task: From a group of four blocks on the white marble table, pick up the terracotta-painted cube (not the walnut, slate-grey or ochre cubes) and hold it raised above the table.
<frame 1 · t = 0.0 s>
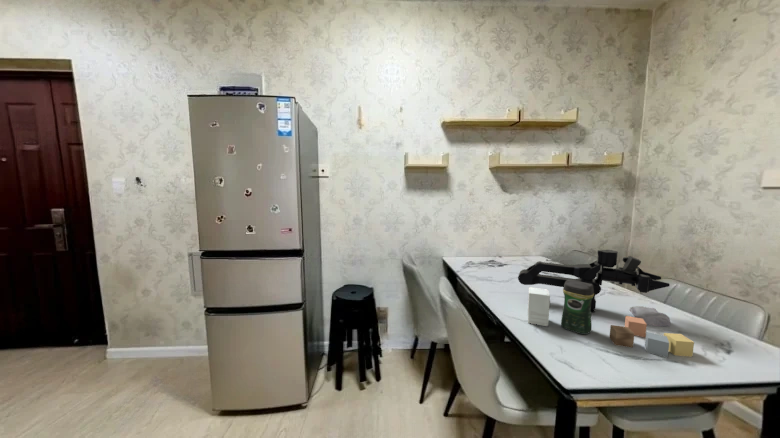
hand: (665, 281, 113), 17 cm above the table, tool horizontal, fingers open, 9 cm apart
walnut cube: (620, 342, 100), on the table
supplement box: (537, 321, 116), on the table
stone block: (646, 320, 117), on the table
coffee jar: (575, 329, 110), on the table
terracotta cube: (634, 332, 107), on the table
slate cube: (655, 351, 95), on the table
ochre cube: (676, 351, 95), on the table
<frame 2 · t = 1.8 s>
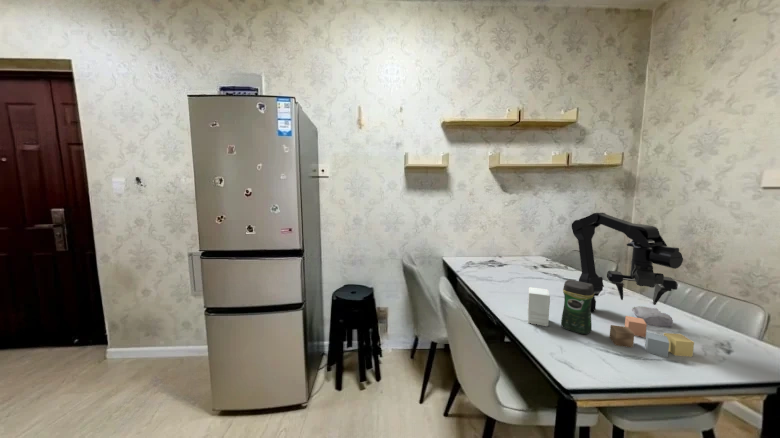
hand: (637, 302, 105), 12 cm above the table, tool pointing down, fingers open, 9 cm apart
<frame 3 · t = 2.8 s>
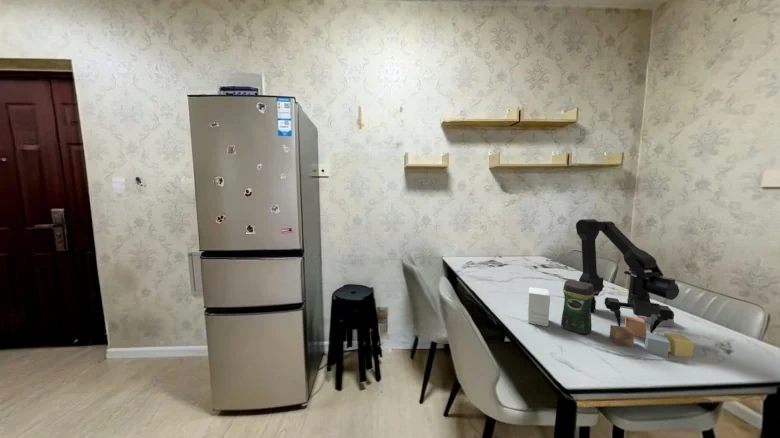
hand: (634, 329, 107), 1 cm above the table, tool pointing down, fingers open, 9 cm apart
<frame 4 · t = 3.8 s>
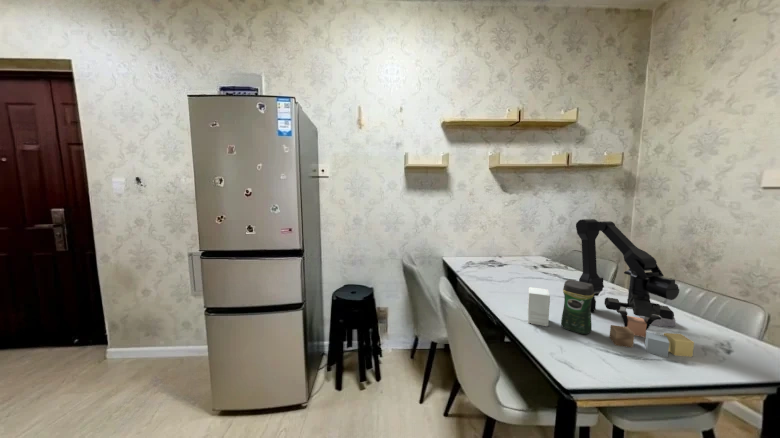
hand: (634, 329, 107), 1 cm above the table, tool pointing down, fingers closed on terracotta cube, 5 cm apart
terracotta cube: (634, 332, 107), on the table, touching gripper
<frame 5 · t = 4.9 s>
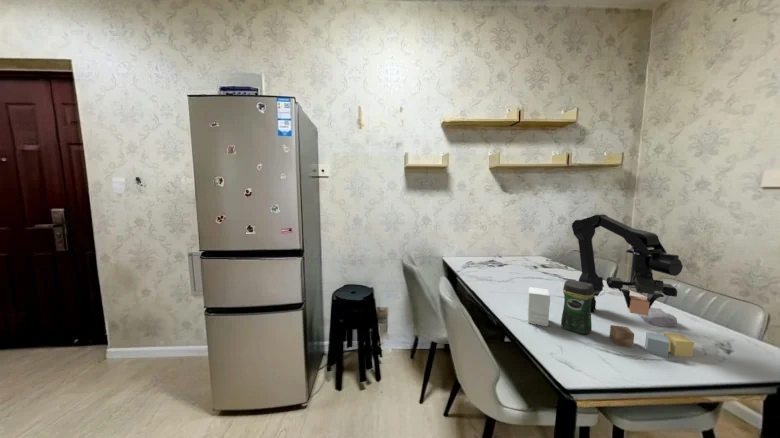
hand: (637, 308, 105), 9 cm above the table, tool pointing down, fingers closed on terracotta cube, 5 cm apart
terracotta cube: (637, 311, 106), point 8 cm above the table, touching gripper
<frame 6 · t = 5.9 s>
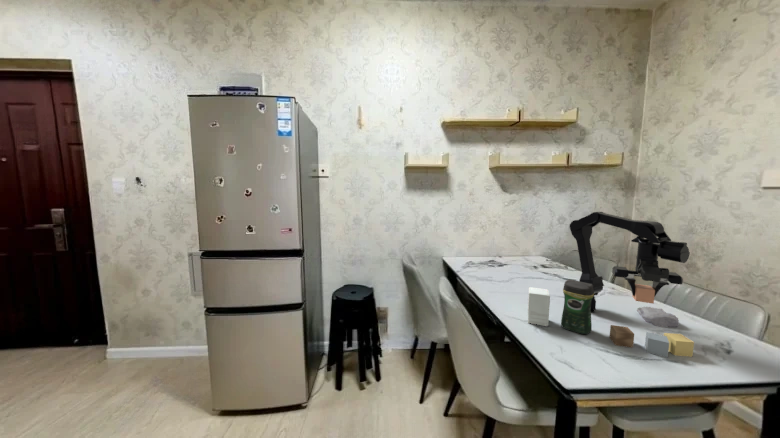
hand: (642, 297, 107), 13 cm above the table, tool pointing down, fingers closed on terracotta cube, 5 cm apart
terracotta cube: (642, 299, 107), point 12 cm above the table, touching gripper
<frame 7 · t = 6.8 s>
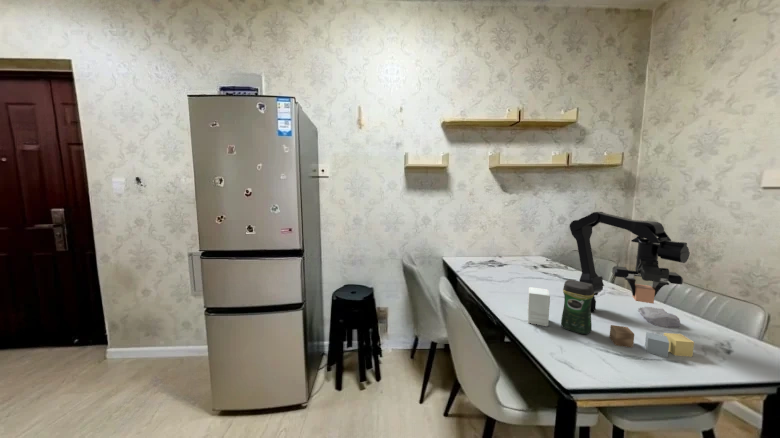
hand: (642, 297, 107), 13 cm above the table, tool pointing down, fingers closed on terracotta cube, 5 cm apart
terracotta cube: (642, 299, 107), point 12 cm above the table, touching gripper
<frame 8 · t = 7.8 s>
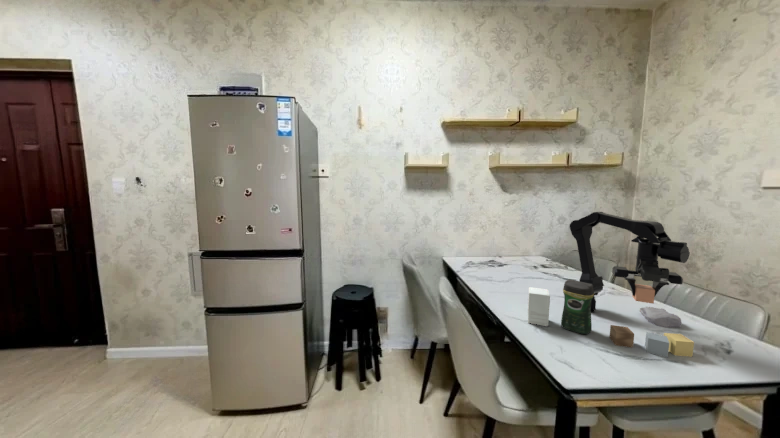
hand: (642, 297, 107), 13 cm above the table, tool pointing down, fingers closed on terracotta cube, 5 cm apart
terracotta cube: (642, 299, 107), point 12 cm above the table, touching gripper
at the end: the gripper is holding terracotta cube; terracotta cube point 11.9 cm above the table; slate cube moved 0.1 cm from its start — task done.
